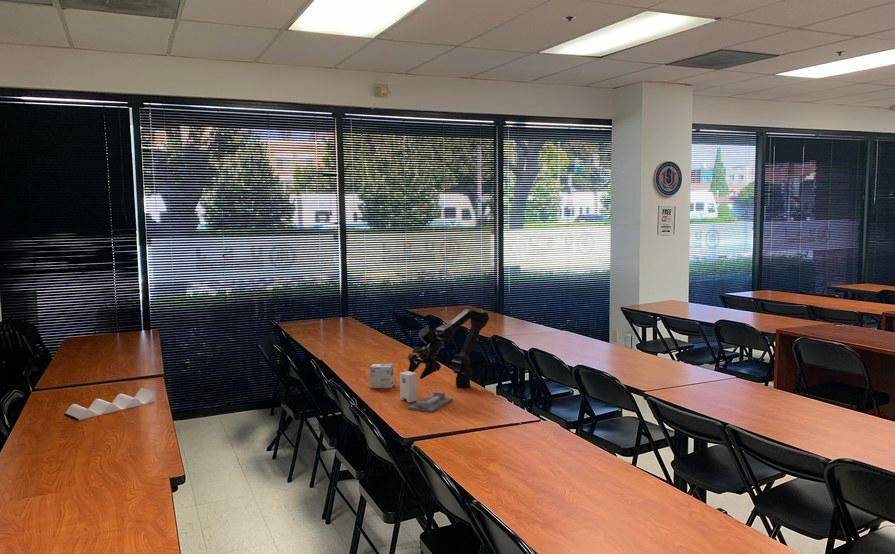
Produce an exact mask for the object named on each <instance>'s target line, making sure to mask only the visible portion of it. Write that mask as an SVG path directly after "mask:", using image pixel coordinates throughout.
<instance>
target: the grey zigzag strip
mask: <svg viewBox="0 0 895 554" xmlns="http://www.w3.org/2000/svg"><path fill="white" fill-rule="evenodd" d="M155 402H156V392H155V391H152V390H149V389H147V388H143V387H140V389H139V390H138V392H137V393H136V394H135V395H134V397H133V396H130V395H127V394H124V393H118V395H116V397H115V398H114V399H113V401H112V402H109V401H106V400H103V399H100V398H95V400H94V401H93V402H91V405H90V406H89V407H88V408H86V407H83V406H81V405H80V404H76V403H72V404H71V405H70V406H69V407H68V409H67V410H66V411H65V412H64V414H63V416H66V417H68V418H70V419H72V420H74V421H81V420H85V419H89V418H94V417H97V416H101V415H105V414H106V415H107V414H109V413H115V412H118V411H123V410H127V409H132V408H134V407H135V408H136V407H140V406H143V405H147V404H151V403H155Z"/></svg>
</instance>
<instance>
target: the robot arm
mask: <svg viewBox="0 0 895 554" xmlns="http://www.w3.org/2000/svg"><path fill="white" fill-rule="evenodd" d="M469 320H470V329H469V331H468V332H467V336H466V337H465V341H464V343H463V345H462V348H461V350H460V352H458V354H453V358H452V360H451V367H452V368H451V369H452V371H453V374H456V376H455V386H456V387H457V388H459V389H462V388H463V389H464V388H471V376H472V375H473V374H474V369H473V368H472V367H471V366H470V364H471V357H470V356H471V354H472V351H473V349H474V348H475V344H476V342H477V339H478V337H479V335H480V332H481V330H482V329H484V328H485V327H486V325H487V324H488V322H489V320H490V316H489V314H488V313H487V312H486V311H480V310H473V309H469V308H465V309H463V311H462V312H460V313H459V314H458V315H457V316H456V317H454V318H453V319H452V320H450V321H449V322H447V323H445V324H442V325H439V326H437V327H436V328H435V329H434V330H433V329H432V327H431V325H426V326H424V327H423V328H421V329H420V330H419V331H418V337H419V338H420V339H421V340H422V341H423V342H424V343H425V344H426V345H427V346H422V347H420V346H416V345H414V346H413V349H412V353H409V354H408V355H407V359H408V361H409V365H408V366H409V367H408V369H407V371H410V372H413V373H415V371H416V370H417V369H418V368H419V367H420V365H421V364H422V365H425V367H424V368H423V371H422V372H421V374H420V376H419V379H420V380H423V379H424V378H425V377H428V376H429V375H432V374H433V373H435V372H439V371H440V370H441V364H440V363H439V362H438V361H437V359H435V358H438V353H439V351H440V350H441V348H443V349H445V348H446V342H445V341H449V340H450V339H451V338H452V337H453V336H454V334H455V332H456V330H458V329H459V328H460V327H461V326H464V324H465V323H466V322H468V321H469ZM442 340H443V341H442Z"/></svg>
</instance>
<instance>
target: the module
mask: <svg viewBox="0 0 895 554" xmlns="http://www.w3.org/2000/svg"><path fill="white" fill-rule="evenodd" d="M399 396H400V397H399V398H400V400H401V401H405V400H406V402H407V403H413V402H417V401H419V399H418V398H419V397H418V373H416V372H410V371H408V370H406V371H403V372H399Z"/></svg>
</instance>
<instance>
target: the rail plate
mask: <svg viewBox="0 0 895 554" xmlns="http://www.w3.org/2000/svg"><path fill="white" fill-rule="evenodd" d="M452 400H454V399H453V398H452V397H446V393H445V392H444V391H443V392H440V391H434V392H433V395H431V394H429V395H428V396H426V397H424V398H422V399H419V400H417V401H415V403H412V404H411V405H408V407H407V410H413V411H419V412H425V411H426V412H427V413H434V412H436V411H437V410H438V409H441V408H443V407H444V406H445V405H447V404H449V403H452V402H453V401H452ZM435 410H436V411H435Z"/></svg>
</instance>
